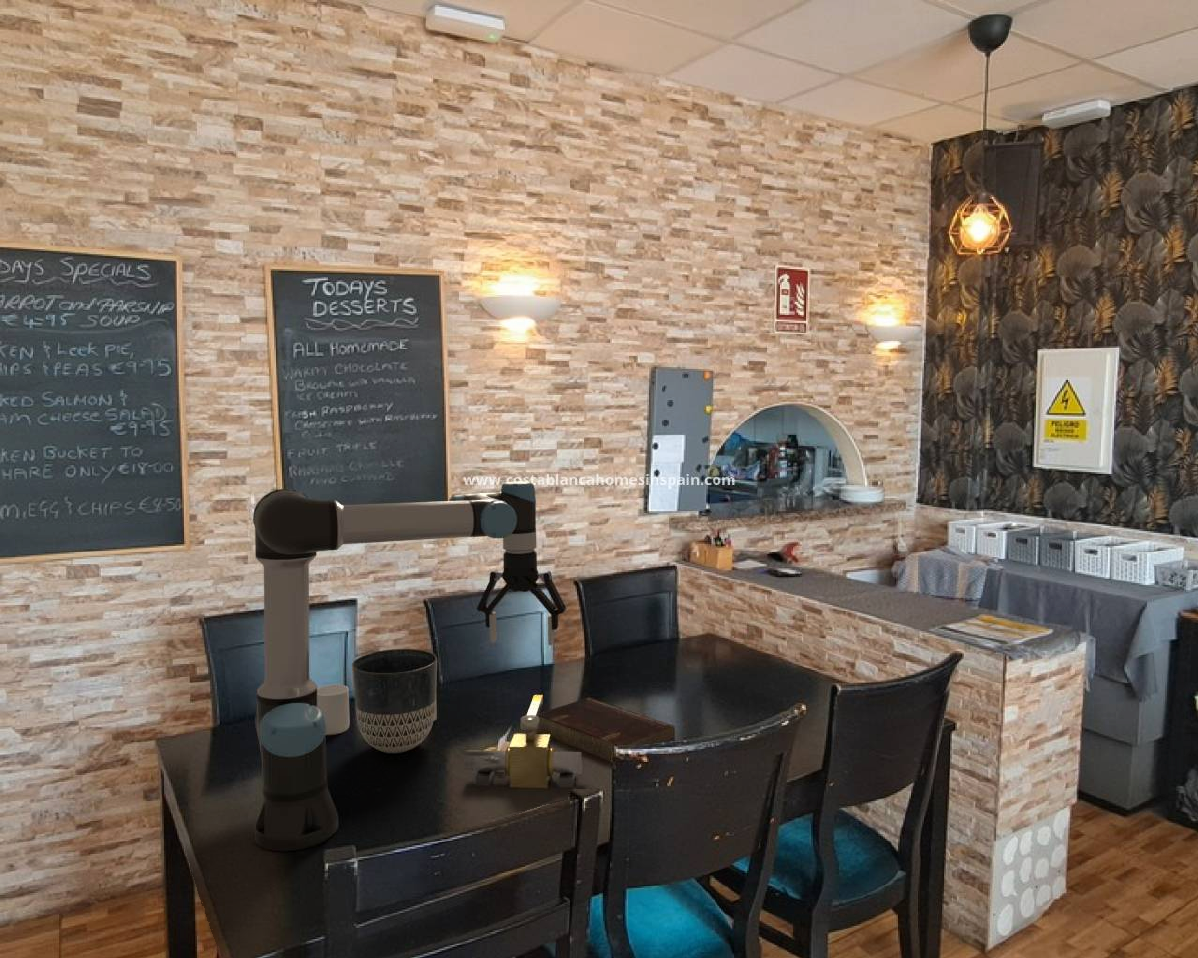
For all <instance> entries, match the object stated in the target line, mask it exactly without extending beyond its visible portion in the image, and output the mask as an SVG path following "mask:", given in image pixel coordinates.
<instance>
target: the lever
mask: <svg viewBox="0 0 1198 958" xmlns="http://www.w3.org/2000/svg"><path fill="white" fill-rule="evenodd" d="M531 700H532V701H531V703H530V705H529V708H528V711H527V713H526V715H523V716H521V717H520V729H521V730H522V731H534V730H535V731H537V729H539V717H538V715H539V713H541V709H542V705H543V702H544V701H543V700H544V699H543V694H535V695H533V697H532V699H531Z"/></svg>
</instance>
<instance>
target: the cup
mask: <svg viewBox="0 0 1198 958" xmlns="http://www.w3.org/2000/svg"><path fill="white" fill-rule="evenodd" d="M349 691H350V690H349V687H348V686H347V685H344V684H328V685H324V686H320V687H317V708H319V709H320V710H321V711H322V713H323V715H324V719H325V723H326V735H325V736H332V735H339V734H342V733H344V732H346V731H348V729H349V728H350V696H349V695H350V694H349Z"/></svg>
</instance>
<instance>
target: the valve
mask: <svg viewBox="0 0 1198 958" xmlns="http://www.w3.org/2000/svg"><path fill="white" fill-rule="evenodd" d="M524 731H525V730H524ZM535 732H536V730H534V731H525V733H513V737H512V739H511V741H510V743H509V744H510V745H509V746H507V747H506V749H505V750H476V749H475V750H472V749H468V750H466V751H465V754H464V771H465V772H470V773H472V772H475V773H476V775H475V786H476V787H479V786H480V787H481V786H482V787H491V783H492V781H493V778H494V775H495V773H505V774H504V775H505V776H506V777H509V788H524V789H525V788H526V789H529V788H531V789H533V788H534V789H548V786H549V783H550V779H551V778H554V777H555V774H559V778H558V782H559V783H558V786H559V788H574V785H575V779H576V774H582V770H583V769H582V767H583V766H582V765H583V763H582V762H583V757H582V756H583V755H582V751H556V748H555V747H551V737H550V734H541V733H535Z"/></svg>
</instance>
